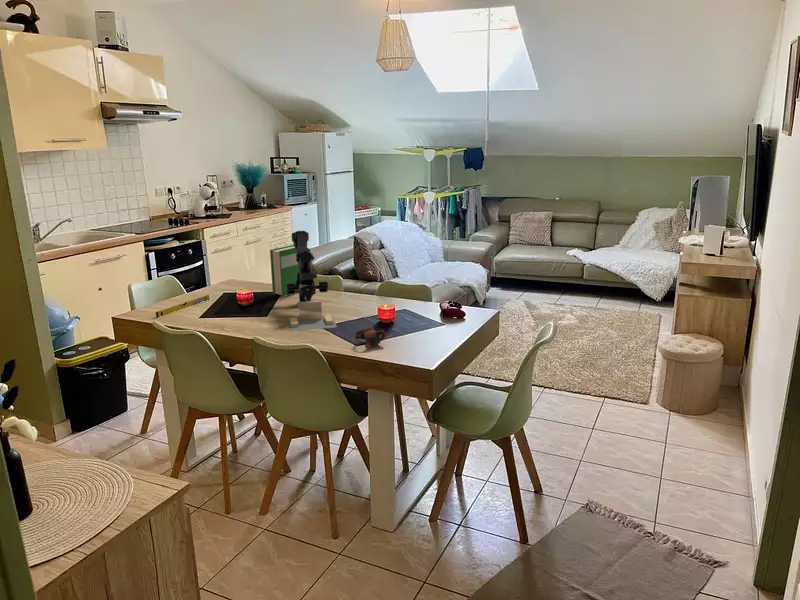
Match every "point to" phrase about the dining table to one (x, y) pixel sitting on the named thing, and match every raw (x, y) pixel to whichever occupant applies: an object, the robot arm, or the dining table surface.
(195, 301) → the spirit level
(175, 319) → the dining table surface
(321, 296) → the dining table surface
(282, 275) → the hardback book
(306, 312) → the birch plank
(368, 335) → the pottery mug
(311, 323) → the plank mat
